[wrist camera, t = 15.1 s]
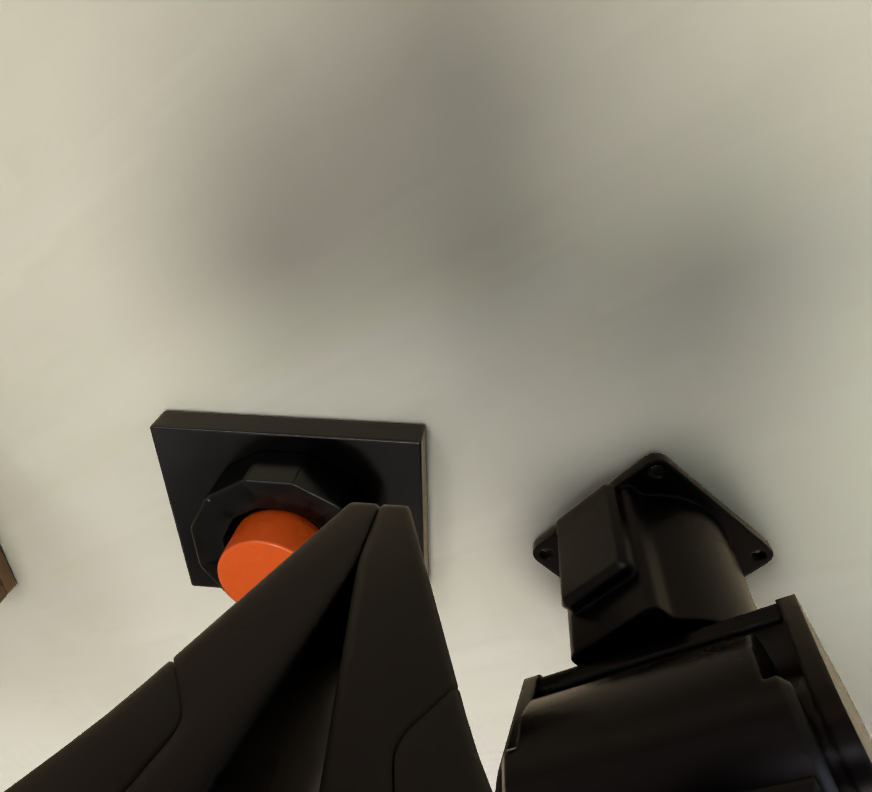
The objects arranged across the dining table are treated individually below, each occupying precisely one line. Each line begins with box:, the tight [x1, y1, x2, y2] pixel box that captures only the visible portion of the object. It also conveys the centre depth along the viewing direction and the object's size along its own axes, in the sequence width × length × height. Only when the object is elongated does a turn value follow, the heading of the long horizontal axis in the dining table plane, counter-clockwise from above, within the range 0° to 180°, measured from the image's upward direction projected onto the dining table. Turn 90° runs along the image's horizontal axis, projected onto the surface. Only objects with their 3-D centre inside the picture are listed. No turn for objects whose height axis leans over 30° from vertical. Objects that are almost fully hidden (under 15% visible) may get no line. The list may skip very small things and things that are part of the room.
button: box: [218, 509, 320, 602], centre depth 23 cm, size 4×4×2 cm
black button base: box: [150, 411, 428, 591], centre depth 25 cm, size 10×8×3 cm
